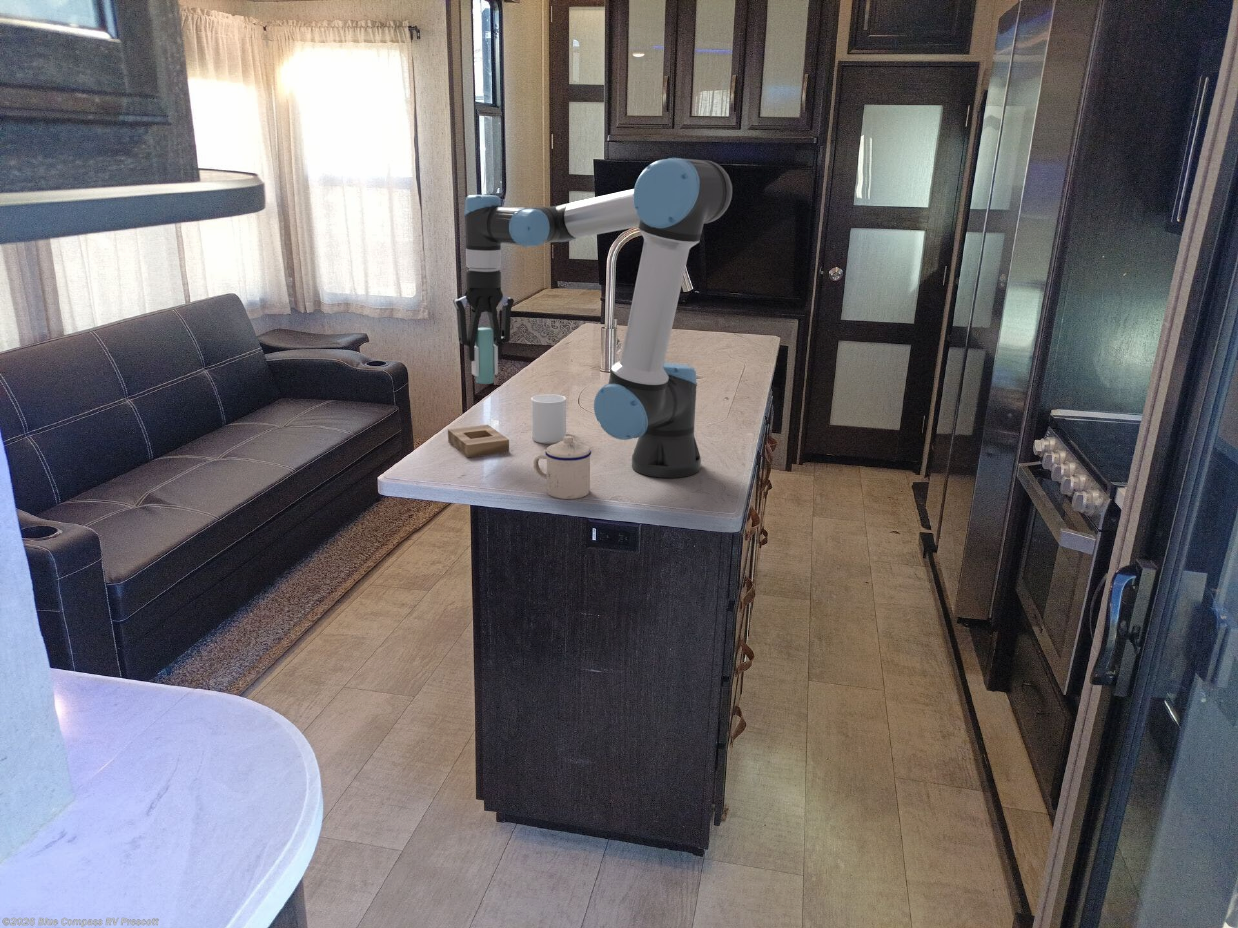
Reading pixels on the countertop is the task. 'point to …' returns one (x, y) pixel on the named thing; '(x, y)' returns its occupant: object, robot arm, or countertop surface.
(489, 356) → the peg
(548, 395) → the cup
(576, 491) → the teacup with lid
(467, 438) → the socket
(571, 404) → the countertop surface
